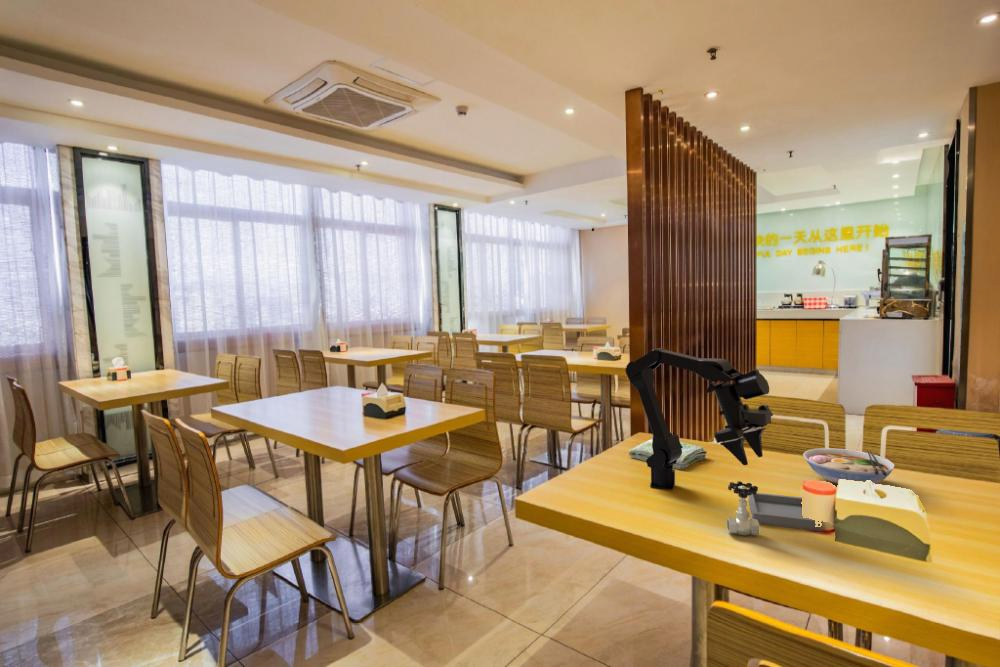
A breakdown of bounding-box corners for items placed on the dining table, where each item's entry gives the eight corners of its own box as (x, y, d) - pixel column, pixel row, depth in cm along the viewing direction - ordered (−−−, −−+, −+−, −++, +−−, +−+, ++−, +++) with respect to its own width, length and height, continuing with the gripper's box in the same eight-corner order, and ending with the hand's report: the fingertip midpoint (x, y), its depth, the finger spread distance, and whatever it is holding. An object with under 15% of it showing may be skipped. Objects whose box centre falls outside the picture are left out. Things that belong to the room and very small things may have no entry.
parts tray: (753, 523, 129) (753, 513, 128) (748, 500, 143) (748, 491, 142) (822, 531, 123) (822, 521, 123) (810, 507, 137) (810, 498, 137)
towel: (683, 472, 168) (683, 456, 168) (627, 458, 184) (627, 444, 183) (708, 459, 180) (708, 445, 180) (654, 447, 196) (654, 434, 195)
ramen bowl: (802, 465, 170) (803, 441, 169) (888, 475, 158) (888, 450, 158) (802, 490, 149) (802, 463, 148) (901, 505, 137) (902, 475, 136)
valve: (761, 542, 119) (761, 492, 118) (731, 540, 120) (731, 490, 119) (753, 529, 125) (753, 481, 125) (724, 527, 127) (725, 480, 126)
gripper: (744, 401, 126) (768, 464, 123) (774, 391, 138) (797, 447, 135) (704, 412, 134) (726, 471, 131) (735, 401, 146) (757, 455, 143)
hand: (753, 460), depth 135 cm, fingers open, 9 cm apart
